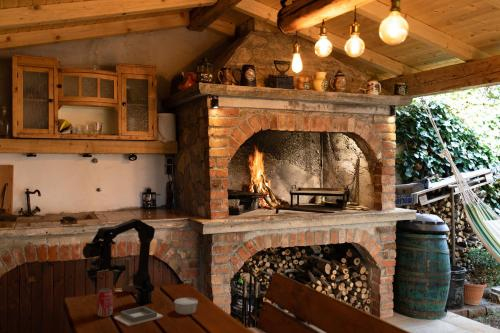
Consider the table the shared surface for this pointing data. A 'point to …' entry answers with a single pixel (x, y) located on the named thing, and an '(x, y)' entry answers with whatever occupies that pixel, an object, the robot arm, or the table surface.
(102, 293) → the soda can
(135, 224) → the robot arm
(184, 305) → the ramekin
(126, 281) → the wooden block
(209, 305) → the table surface
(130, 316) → the holder board
